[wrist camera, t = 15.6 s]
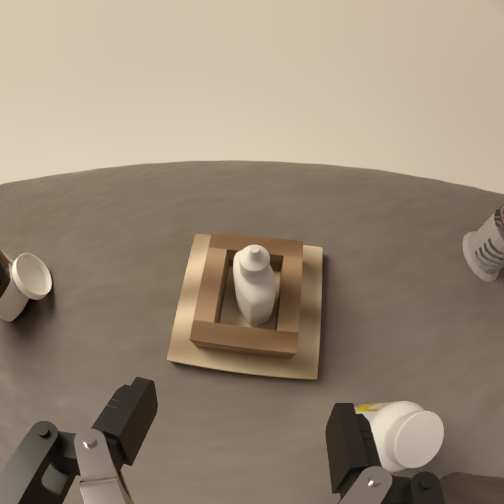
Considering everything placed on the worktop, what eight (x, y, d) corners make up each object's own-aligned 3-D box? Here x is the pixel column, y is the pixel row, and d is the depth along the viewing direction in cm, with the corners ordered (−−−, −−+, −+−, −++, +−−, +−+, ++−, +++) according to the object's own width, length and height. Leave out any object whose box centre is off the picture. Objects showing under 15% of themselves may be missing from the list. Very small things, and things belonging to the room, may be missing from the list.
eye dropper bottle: (228, 323, 30) (216, 277, 20) (239, 276, 33) (234, 213, 23) (268, 330, 30) (278, 289, 20) (276, 283, 33) (289, 222, 22)
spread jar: (-4, 293, 32) (-48, 260, 22) (33, 245, 37) (-6, 203, 27) (21, 343, 29) (-34, 315, 19) (64, 288, 33) (15, 246, 23)
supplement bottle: (358, 467, 23) (415, 494, 12) (319, 435, 25) (363, 454, 14) (396, 424, 25) (465, 425, 14) (360, 392, 28) (420, 381, 17)
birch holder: (314, 380, 29) (326, 375, 24) (170, 361, 29) (155, 353, 25) (319, 253, 36) (329, 229, 32) (197, 239, 37) (190, 214, 32)
